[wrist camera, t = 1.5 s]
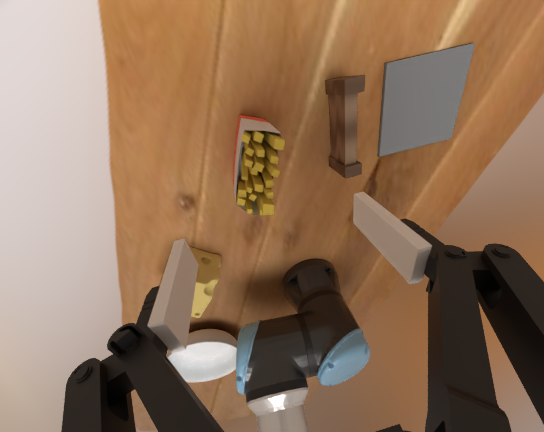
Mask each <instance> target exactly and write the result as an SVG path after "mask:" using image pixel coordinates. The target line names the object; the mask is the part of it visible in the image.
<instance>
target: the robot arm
mask: <svg viewBox="0 0 544 432" xmlns="http://www.w3.org/2000/svg"><path fill="white" fill-rule="evenodd" d="M353 223H354V224H355V225H356V226H357V228H358V229H359V230H360V231H361V232H362V233H363V234H364V235H365V236H366V237H367V238H368V239H369V241H370V242H371V243H372V244H373V245H374V246H375V247H376V248H377V249H378V250H379V251H380V253H381V254H382V255H383V256H384V257H385V258H386V259H387V260H388V261H389V262H390V263H391V265H392V266H393V267H394V268H395V269H396V270H397V271H398V272H399V273H400V274H401V275H402V277H403V278H404V279H405V280H406V281H407V282H408V283H409V284H414V283H417V282H420V281H422V280H423V276H424V274H425V275H426V276H427V277H428V278H429V282H428V285H427V288H426V291H427V292H428V413H427V419H426V427H425V432H511V428H510V424H509V420H508V418H507V416H506V414H505V412H504V411H503V410H501V409H500V408H499V406H498V404H497V400H496V395H495V389H494V384H493V379H492V373H491V368H490V363H489V358H488V352H487V347H486V342H485V336H484V330H483V325H482V320H481V315H480V309H479V304H478V301H479V303H480V305H481V307H482V309H483V311H484V313H485V315H486V316H487V318H488V320H489V322H490V324H491V326H492V328H493V329H494V332H495V333H496V335H497V337H498V339H499V341H500V343H501V344H502V347H503V348H504V350H505V352H506V354H507V356H508V358H509V360H510V362H511V363H512V365H513V367H514V369H515V371H516V373H517V375H518V377H519V379H520V380H521V382H522V384H523V386H524V388H525V390H526V392H527V394H528V395H529V397H530V399H531V401H532V403H533V405H534V407H535V409H536V411H537V412H538V414H539V416H540V418H541V420H542V422H543V424H544V282H543V281H542V279H541V278H540V277H539V276H538V275H537V274H536V272H535V271H534V270H533V269H532V268H531V267H530V266H529V265H528V263H527V262H526V261H525V260H524V259H523V257H522V256H521V255H520V254H519V253H518V252H517V251H516V250H514V249H512V248H510V247H508V246H505V245H501V244H488V245H486V246H485V248H484V250H483V251H479V252H466V251H465V250H464V249H462V248H459V247H456V246H452V245H444V244H443V243H442V242H440V241H439V240H438V239H436V238H435V237H433V236H432V235H431V234H429V233H428V232H427V231H425V230H424V229H423V228H420V226H419V225H417V224H416V223H414V222H413V221H410V220H408V219H401V220H399V219H398V218H396V217H395V216H394V215H393V214H391V213H390V212H389V211H388V210H386V209H385V208H384V207H382V206H381V205H380V204H379V203H377V202H376V201H375V200H373V199H372V198H371V197H370V196H368V195H367V194H366V193H365V192H360V193H356V194H354V212H353ZM197 271H198V263H197V261H196V259H195V257H194V255H193V253H192V251H191V250H190V248H189V246H188V244H187V242H186V240H185V238H184V239H180V240H176V241H174V244H173V247H172V250H171V253H170V256H169V259H168V262H167V266H166V269H165V272H164V275H163V278H162V281H161V285H160V286H157V287H154V288H152V289H151V290H150V292H149V293H148V294H147V296H146V299H145V301H144V305H143V307H142V309H141V310H142V311H141V312H140V315H139V318H138V320H137V323H136V324H134V323H128V324H126V325H123V326H122V327H120V328H119V329H117V330H116V331H115V332H114V333H113V334H112V336H111V337H110V339H109V341H108V344H107V347H108V350H109V351H111V352H112V353H113V355H111V356H109V357H108V358H106V359H104V360H102V361H100V360H98V359H96V358H92V359H88V360H87V361H85V362H83V363H82V364H80V365H79V366H78V367H77V368H76V369H75V370H74V371H73V372H72V374H71V375H70V377H69V379H68V381H67V384H66V392H65V403H64V412H63V423H62V432H136V429H135V421H134V414H133V406H132V399H131V391H133V390H134V389H135V390H136V391H137V393H138V395H139V397H140V399H141V401H142V402H143V404H144V406H145V408H146V410H147V412H148V413H149V415H150V417H151V419H152V421H153V423H154V424H155V426H156V428H157V430H158V432H224V431H223V430H222V428H221V427H220V426H219V424H218V423H217V422H216V420H215V419H214V418H213V417H212V415H211V414H210V413H209V411H208V410H207V409H206V407H205V406H204V405H203V403H202V402H201V401H200V400H199V398H198V397H197V396H196V394H195V393H194V392H193V390H192V389H191V388H190V386H189V385H188V384H187V383H186V381H185V380H184V379H183V377H182V376H181V375H180V373H179V372H178V371H177V370H176V368H175V367H174V366H173V364H172V363H171V362H170V360H169V359H168V358H167V357H166V354H167V349H169V350H170V352H171V353H172V354H173V353H176V352H180V351H183V350H186V348H187V341H188V334H189V327H190V320H191V313H192V306H193V299H194V292H195V285H196V278H197ZM283 290H284V293H285V295H286V297H287V299H288V300H289V301H290V303H291V304H292V305H293V307H294V308H295V309H296V311H297V312H298V314H293V315H288V316H283V317H278V318H274V319H269V320H263V321H261V320H259V321H258V322H255V323H251V324H247V325H245V326H243V327H242V328H241V330H240V332H239V335H238V341H237V352H236V375H237V376H236V379H237V381H236V384H237V391H238V392H239V393H240V394H242V395H244V394H245V393H246V402H247V406H248V407H249V408H250V409H251V410H252V411H253V412H254V413H255V415H256V416H257V425H258V432H310V431H309V427H308V422H307V418H306V413H305V409H304V400H305V397H306V395H307V392H308V390H309V389H308V385H307V380H306V378H308V377H312V376H317V379H318V380H319V381H320V383H321V384H323V385H325V386H327V385H330V386H332V385H336V384H339V383H341V382H344V381H346V380H347V379H349V378H351V377H353V376H354V375H356V374H357V373H358V372H359V371H360V370H361V369H363V367H364V366H365V365H366V363H367V362H368V360H369V358H370V348H369V345H368V343H367V341H366V339H365V337H364V335H363V331H362V330H361V329H360V327H359V325H358V324H357V322H356V320H355V318H354V317H353V315H352V313H351V311H350V310H349V308H348V306H347V304H346V302H345V301H344V299H343V297H342V295H341V293H340V287H339V281H338V275H337V273H336V271H335V269H334V268H333V266H332V265H331V264H330V263H329V262H327V261H325V260H320V259H311V260H306V261H303V262H301V263H299V264H297V265H295V266H294V267H292V268H291V269H290V270H289V271H288V272H287V274H286V275H285V277H284V279H283ZM376 432H410V431H403V430H402V428H401V426H400V424H398V425H395V426H392V427H389V428H386V429H383V430H380V431H376Z"/></svg>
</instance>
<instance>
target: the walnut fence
mask: <svg viewBox="0 0 544 432" xmlns="http://www.w3.org/2000/svg"><path fill="white" fill-rule="evenodd" d="M325 85H326V94H329V113H330V137H331V156H329V166H330V167H331V168H333V169H334V170H335V171H337V172H338V173H339V174H340V175H342V176H343V177H344V178H349V177H353V176H357V175H360V174H361V171H362V163H360V162H358V161H357V160H356V144H357V97H358V93H359V92H363V91H364V88H365V75H360V76H345V77H339V78H334V79H330V80H326V81H325Z"/></svg>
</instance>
